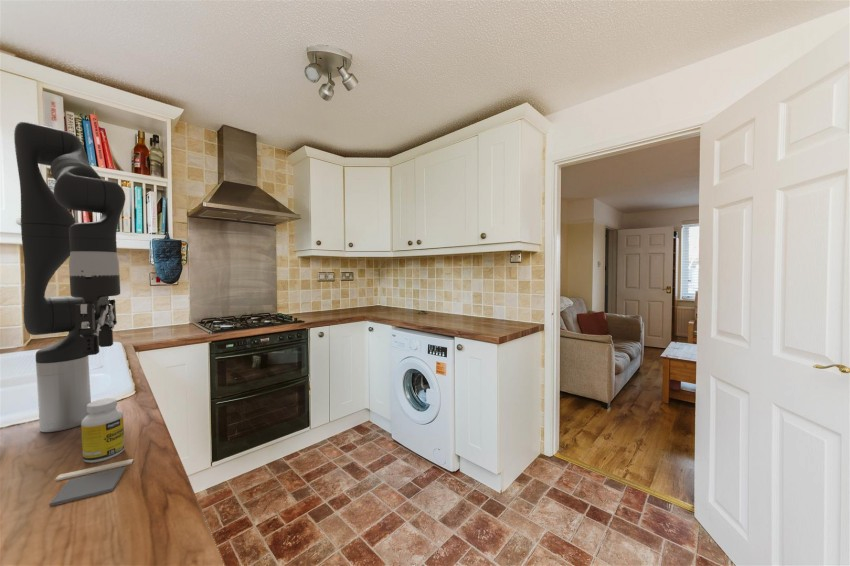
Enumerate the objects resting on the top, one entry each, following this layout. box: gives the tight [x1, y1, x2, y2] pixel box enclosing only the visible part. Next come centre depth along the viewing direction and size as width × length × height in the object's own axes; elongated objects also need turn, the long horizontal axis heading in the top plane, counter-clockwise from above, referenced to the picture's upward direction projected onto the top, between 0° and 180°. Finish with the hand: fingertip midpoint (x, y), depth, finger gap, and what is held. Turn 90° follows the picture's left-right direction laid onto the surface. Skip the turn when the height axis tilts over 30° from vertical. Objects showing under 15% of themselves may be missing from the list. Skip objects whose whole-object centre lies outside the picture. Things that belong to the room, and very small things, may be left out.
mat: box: [49, 466, 126, 507], centre depth 62 cm, size 8×8×1 cm
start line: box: [54, 458, 134, 482], centre depth 67 cm, size 2×11×1 cm, turn 119°
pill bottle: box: [80, 397, 125, 463], centre depth 72 cm, size 6×6×12 cm
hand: (99, 350), depth 71 cm, fingers open, 8 cm apart
